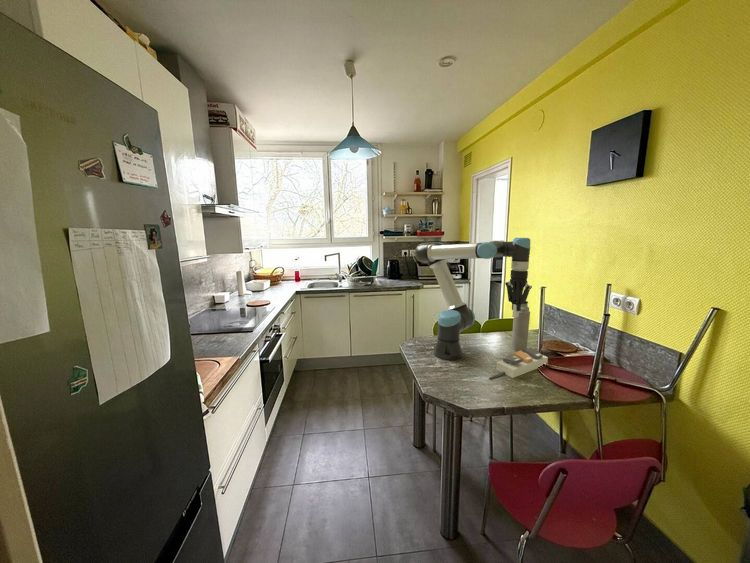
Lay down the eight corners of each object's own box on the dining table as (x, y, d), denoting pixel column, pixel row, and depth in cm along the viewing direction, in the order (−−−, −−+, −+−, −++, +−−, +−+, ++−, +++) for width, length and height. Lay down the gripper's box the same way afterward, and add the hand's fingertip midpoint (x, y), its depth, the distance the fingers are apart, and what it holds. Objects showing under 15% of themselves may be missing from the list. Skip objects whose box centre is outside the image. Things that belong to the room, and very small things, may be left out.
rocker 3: (523, 351, 150) (524, 349, 149) (529, 349, 152) (530, 347, 152) (536, 359, 144) (537, 356, 144) (542, 357, 147) (543, 354, 146)
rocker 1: (503, 361, 142) (502, 358, 142) (509, 359, 145) (509, 356, 145) (516, 364, 136) (515, 361, 136) (522, 361, 138) (522, 358, 138)
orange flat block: (513, 354, 146) (514, 352, 145) (519, 352, 148) (520, 350, 148) (526, 363, 140) (527, 360, 140) (532, 360, 143) (533, 358, 142)
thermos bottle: (511, 345, 172) (515, 298, 167) (526, 347, 169) (530, 300, 164) (511, 350, 165) (515, 302, 160) (526, 352, 162) (531, 303, 157)
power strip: (481, 375, 137) (481, 365, 136) (530, 357, 156) (531, 349, 155) (497, 383, 130) (498, 373, 129) (547, 364, 148) (548, 355, 147)
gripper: (502, 268, 145) (499, 314, 150) (527, 272, 134) (522, 321, 139) (512, 267, 149) (508, 312, 153) (537, 270, 138) (532, 319, 142)
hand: (515, 316), depth 146 cm, fingers closed
